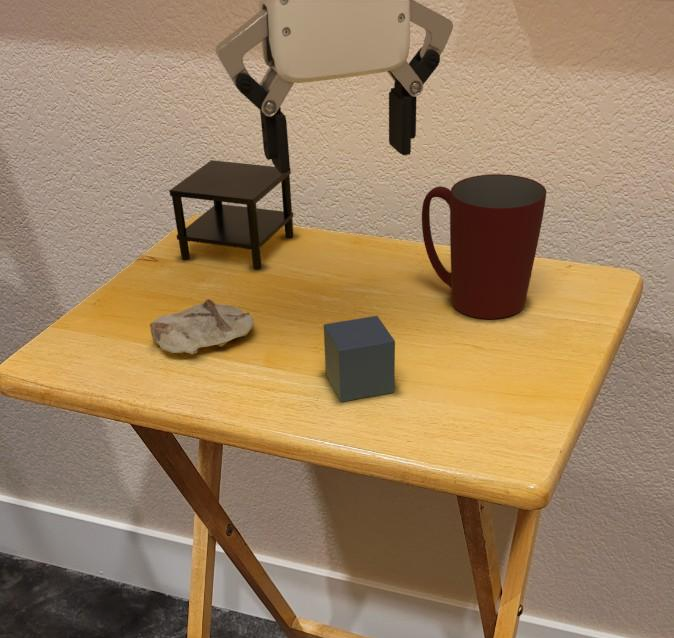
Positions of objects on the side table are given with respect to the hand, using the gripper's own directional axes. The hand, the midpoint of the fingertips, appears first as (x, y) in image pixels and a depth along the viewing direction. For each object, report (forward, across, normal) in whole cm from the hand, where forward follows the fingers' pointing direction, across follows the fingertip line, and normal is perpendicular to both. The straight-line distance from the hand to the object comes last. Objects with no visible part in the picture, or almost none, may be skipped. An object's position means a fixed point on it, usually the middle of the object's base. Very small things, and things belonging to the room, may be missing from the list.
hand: (340, 158), depth 68 cm
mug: (+19, -16, -10) cm, 27 cm away
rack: (+18, +4, -32) cm, 37 cm away
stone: (+18, +12, -11) cm, 24 cm away
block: (+18, 0, +2) cm, 19 cm away
